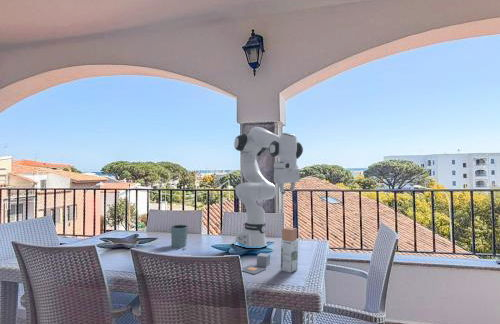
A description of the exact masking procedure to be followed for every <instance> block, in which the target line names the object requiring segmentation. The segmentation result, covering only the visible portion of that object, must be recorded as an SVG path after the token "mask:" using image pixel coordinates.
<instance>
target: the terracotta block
mask: <svg viewBox="0 0 500 324" xmlns="http://www.w3.org/2000/svg"><path fill="white" fill-rule="evenodd" d="M281 231H282V232H281V234H282V235H281V240H288V241H293V240H296V239H297V240H298V228H296V227H289V226H287V227H283V228H282V229H281Z"/></svg>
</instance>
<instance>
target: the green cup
mask: <svg viewBox="0 0 500 324" xmlns="http://www.w3.org/2000/svg"><path fill="white" fill-rule="evenodd" d="M188 229H189V226H188V225H187V224H174V225H171V226H170V236H171V237H170V238H171V248H173V249H174V248H175V249H182V248H186V247H187V242H188V241H187V238H188V231H189V230H188Z"/></svg>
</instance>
